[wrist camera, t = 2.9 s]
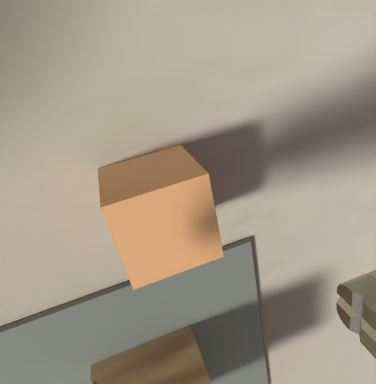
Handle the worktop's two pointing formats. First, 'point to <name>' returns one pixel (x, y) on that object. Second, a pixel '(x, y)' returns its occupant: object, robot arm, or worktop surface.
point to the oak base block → (156, 362)
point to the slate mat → (146, 325)
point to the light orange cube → (160, 214)
